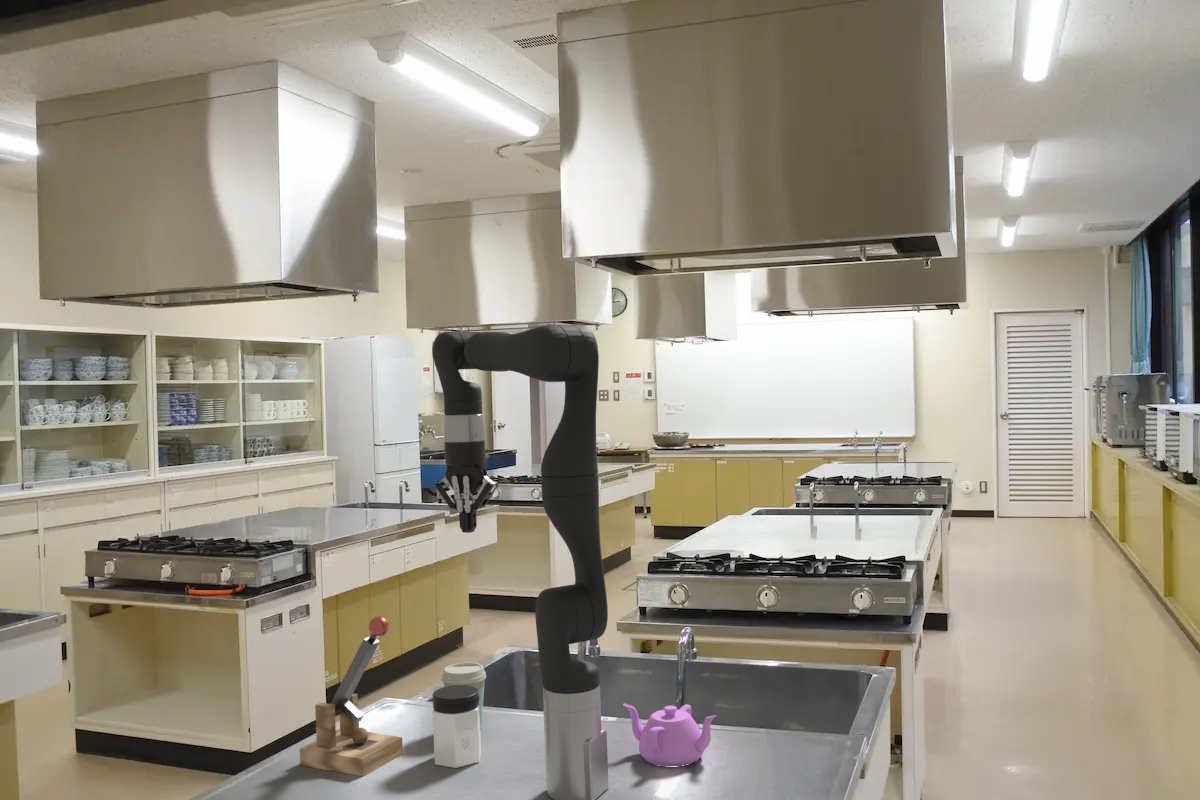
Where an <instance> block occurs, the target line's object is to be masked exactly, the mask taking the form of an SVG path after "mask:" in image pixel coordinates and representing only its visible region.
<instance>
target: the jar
mask: <svg viewBox="0 0 1200 800" xmlns="http://www.w3.org/2000/svg"><path fill="white" fill-rule="evenodd" d="M432 709H433V711H432V726H433V732H432V733H433V751H434V752H433V753H434V764H435V765H436V766H440V767H441V766H442V767H448V768H452V769H458V768H463V767H466V766H470V765H474V764H477V763H479V762H480V760H481V755H482V739H481V730H480V711H479V691H478V689H477V688H475V687H473V686H468V685H454V686H447V687H444V686H443V687H441V688H438V689H436V690H434V691H433V693H432Z"/></svg>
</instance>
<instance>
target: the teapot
mask: <svg viewBox="0 0 1200 800" xmlns="http://www.w3.org/2000/svg"><path fill="white" fill-rule="evenodd" d="M622 705H623V707H624V708H626V709H627V710H628V712H629V715H630V720H631V730H632V733H633V736H634V737H635V739H636V740H637V741H638V751H639V754H640V755H641V756H642V758H643V759H644V760H645V761H646V762H647V761H648V762H649V763H648V762H647V763H648V764H650V763H652V764H655V765H660V766H682V765H686V764H690V763H693V762H695V761H696V762H697V761H698V760H699V759H700V758H701V756H703V754H704V752H705V750H706V749H707V748H708V747H709V746H710V742H711V738H712V736H711V735H712V734H711V725H712V721H713V720H714V719H715V718H716V717H717V714H716V715H709V716H706V717H705V718H704V719H703V721H702V728H701V730H700V727H699V726H698V724H697V723H696V721H695V720H694V718H693V717H692V713H693V712H692V706H691V705H690V704H687V703H686V704H684V705H682V706H681V707H680V708H679V709H678V708H677V706H675V705H665V706H664V707H663V709H661V710H657V711H655V712H653V713H652V714H651V715H650V716H649V717H648V719H647V721H646V723H645V725H643V724H642V723H641V720H640V717H639V714H638V711H637V709H636V708H635V707H634V705H631V704H629V703H622ZM696 762H695V763H696ZM652 764H651V765H652ZM693 764H694V763H693ZM655 765H654V766H655Z"/></svg>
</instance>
